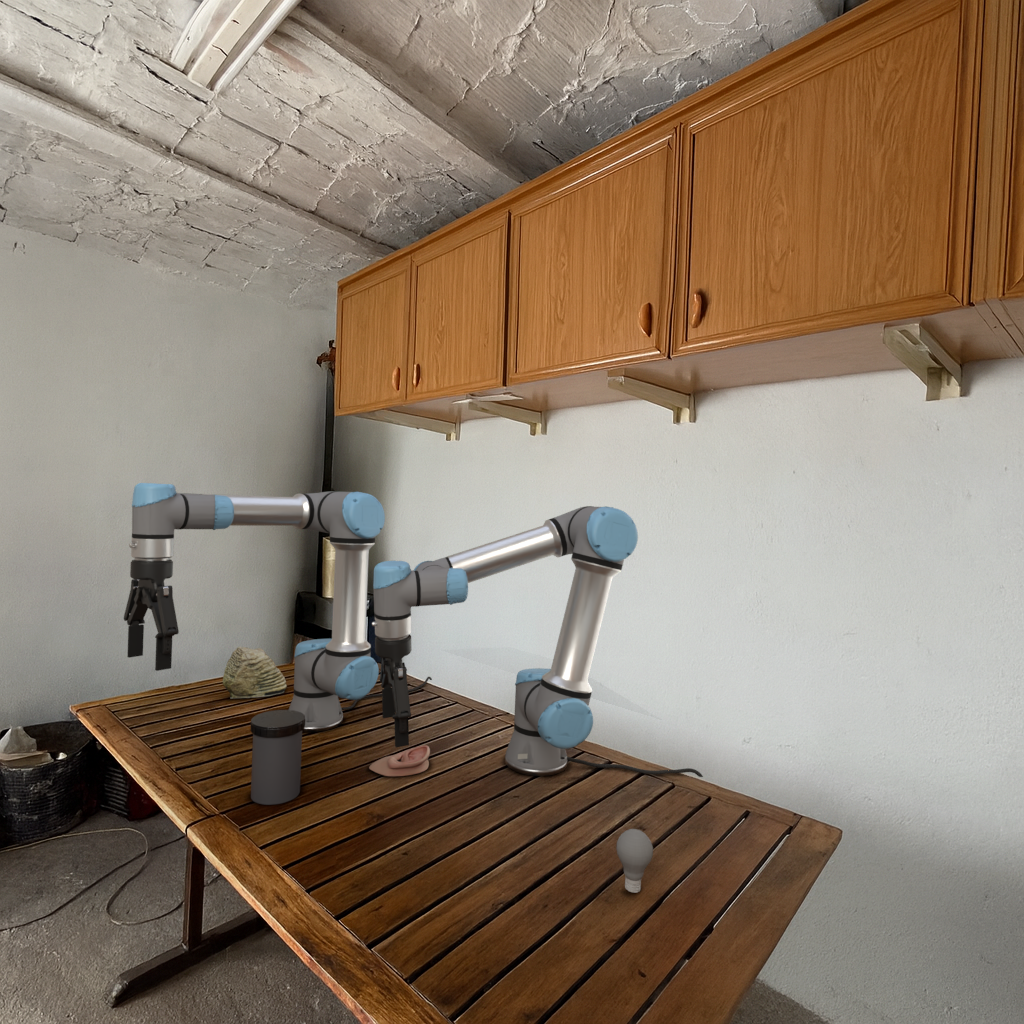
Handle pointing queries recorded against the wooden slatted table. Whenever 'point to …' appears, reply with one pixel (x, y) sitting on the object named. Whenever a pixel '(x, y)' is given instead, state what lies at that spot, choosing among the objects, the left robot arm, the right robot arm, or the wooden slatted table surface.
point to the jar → (276, 769)
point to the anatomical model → (403, 762)
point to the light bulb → (634, 857)
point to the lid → (277, 723)
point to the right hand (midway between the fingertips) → (395, 730)
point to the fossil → (252, 674)
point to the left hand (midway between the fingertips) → (148, 662)
